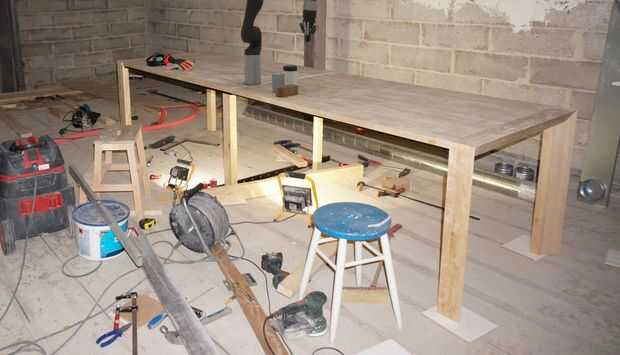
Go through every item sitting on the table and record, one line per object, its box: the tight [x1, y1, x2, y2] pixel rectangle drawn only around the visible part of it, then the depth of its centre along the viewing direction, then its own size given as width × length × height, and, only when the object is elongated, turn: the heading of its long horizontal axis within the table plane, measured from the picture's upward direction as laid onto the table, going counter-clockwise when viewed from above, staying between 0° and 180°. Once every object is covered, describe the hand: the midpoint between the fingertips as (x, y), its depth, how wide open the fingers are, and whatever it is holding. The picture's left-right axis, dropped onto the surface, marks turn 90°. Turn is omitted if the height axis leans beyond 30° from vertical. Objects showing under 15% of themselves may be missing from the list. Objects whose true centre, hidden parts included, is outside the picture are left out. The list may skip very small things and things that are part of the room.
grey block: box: [271, 72, 285, 93], centre depth 305 cm, size 5×5×10 cm
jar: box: [282, 64, 299, 86], centre depth 319 cm, size 9×8×12 cm
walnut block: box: [274, 84, 299, 98], centre depth 296 cm, size 5×5×12 cm
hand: (307, 41), depth 305 cm, fingers closed
